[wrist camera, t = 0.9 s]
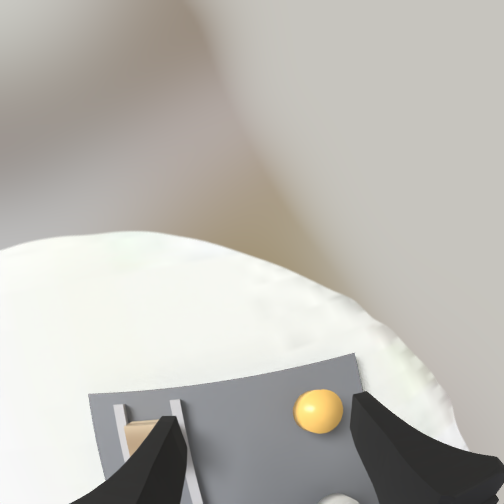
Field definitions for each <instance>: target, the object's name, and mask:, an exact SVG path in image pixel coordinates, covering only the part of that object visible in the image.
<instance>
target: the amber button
mask: <svg viewBox="0 0 504 504" xmlns="http://www.w3.org/2000/svg"><path fill="white" fill-rule="evenodd" d="M342 415H343V405H342V402H341V399H340V398H339V396H338V395H337V394H335V393H334V392H332V391H330V390H325V389H322V390H310V391H307V392H305V393H303V394H302V395H300V396H299V397H298V399H297V400H296V402H295V404H294V407H293V417H294V420H295V422H296V424H297V425H298V426H299V427H300V428H302V429H303V430H306V431H309V432H313V433H318V434H322V433H327V432H330V431H331V430H333V429H334V428H335V427H336V426H337V425H338V424H339V422H340V421H341V418H342Z"/></svg>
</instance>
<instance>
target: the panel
mask: <svg viewBox="0 0 504 504" xmlns="http://www.w3.org/2000/svg"><path fill="white" fill-rule="evenodd" d="M322 389H325V390H330V391H332V392H334V393H335V394H337V395H338V396H339V398H340V399H341V402H342V405H343V415H342V418H341V421H340V422H339V424H338V425H337V426H336V427H335V428H334V429H333V430H331V431H330V432H327V433H322V434H318V433H313V432H309V431H306V430H303V429H302V428H300V427H299V426H298V425H297V424H296V422H295V420H294V417H293V407H294V404H295V402H296V400H297V399H298V397H299V396H300V395H302V394H303V393H305V392H307V391H310V390H322ZM361 392H363V389H362V385H361V380H360V375H359V371H358V366H357V362H356V357H355V353H352V354H348V355H344V356H341V357H337V358H333V359H329V360H325V361H321V362H317V363H313V364H308V365H304V366H300V367H295V368H290V369H286V370H281V371H276V372H271V373H266V374H261V375H256V376H250V377H245V378H239V379H233V380H227V381H220V382H214V383H207V384H199V385H192V386H184V387H175V388H166V389H156V390H145V391H133V392H118V393H98V394H88V396H89V402H90V409H91V415H92V421H93V426H94V432H95V437H96V442H97V446H98V451H99V455H100V460H101V464H102V468H103V472H104V476H105V480H107V479H109V478H110V477H111V476H112V475H113V474H114V473H115V472H116V471H117V470H118V469H119V468H120V467H121V466H122V465H123V464H124V463H125V462H126V461H127V460H128V459H129V458H130V455H129V450H128V446H127V441H126V436H125V431H124V426H126V425H127V424H129V423H131V422H132V421H145V420H157V419H160V418H161V417H162V416H176V417H177V420H178V423H179V425H180V428H181V431H182V434H183V437H184V439H185V442H186V445H187V469H186V474H185V480H184V486H183V491H182V497H181V502H180V504H318V502H319V501H320V500H322V499H323V498H324V497H326V496H328V495H330V494H334V493H341V494H344V495H346V496H348V497H350V498H352V499H355V500H356V501H358V503H359V504H379V501H378V498H377V495H376V492H375V489H374V487H373V484H372V482H371V480H370V478H369V476H368V473H367V471H366V469H365V467H364V465H363V463H362V461H361V458H360V456H359V454H358V452H357V450H356V447H355V444H354V441H353V438H352V434H351V431H350V419H351V408H352V396H353V394H357V393H361Z"/></svg>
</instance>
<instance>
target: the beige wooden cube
mask: <svg viewBox="0 0 504 504" xmlns="http://www.w3.org/2000/svg"><path fill="white" fill-rule="evenodd" d="M158 420H159V419H157V420H145V421H132V422H131V423H129V424H127V425H126V426H124V431H125V436H126V441H127V446H128V450H129V455H130V457H131V456H132V454H133V453H134V452H135V451H136V450H137V449H138V447H139V446H140V445H141V443H142V442H143V441H144V440H145V438H146V437H147V436H148V434H149V433H150V432H151V430H152V429H153V427H154V426H155V425H156V423H157V422H158Z"/></svg>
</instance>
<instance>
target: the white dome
mask: <svg viewBox="0 0 504 504" xmlns="http://www.w3.org/2000/svg"><path fill="white" fill-rule="evenodd" d="M318 504H359V503H358V501H356V500H355V499H352V498H350V497H348V496H346V495H344V494H341V493H334V494H330V495H328V496H326V497H324V498H323V499H322V500H320V501H319V502H318Z"/></svg>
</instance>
